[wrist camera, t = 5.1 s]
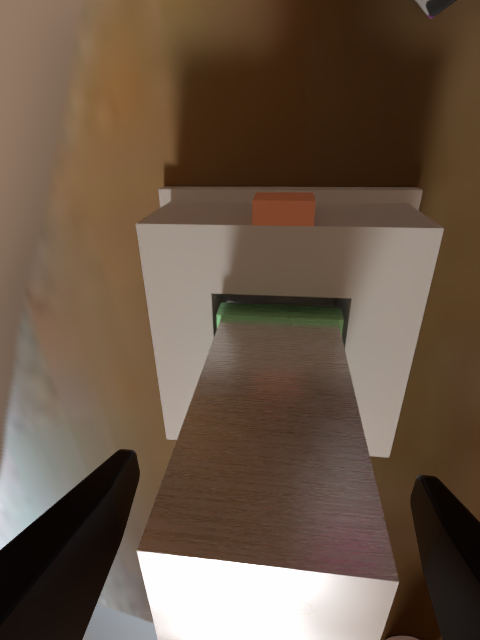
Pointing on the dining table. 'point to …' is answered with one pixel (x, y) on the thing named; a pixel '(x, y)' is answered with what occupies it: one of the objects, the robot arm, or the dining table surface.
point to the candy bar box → (433, 6)
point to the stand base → (291, 280)
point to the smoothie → (402, 638)
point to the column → (270, 492)
